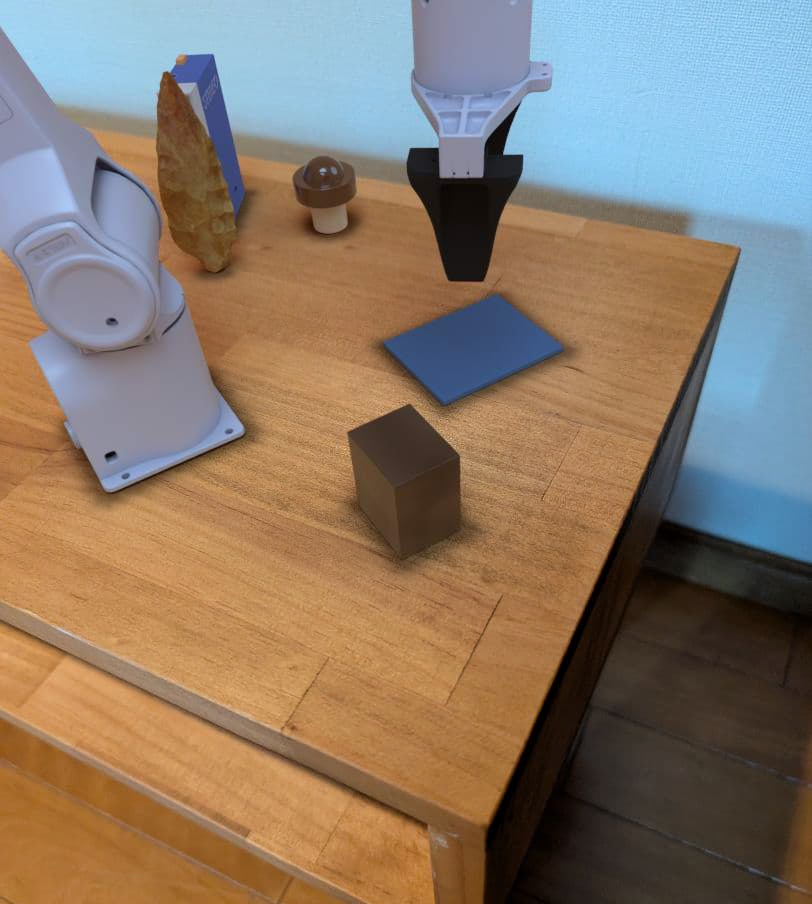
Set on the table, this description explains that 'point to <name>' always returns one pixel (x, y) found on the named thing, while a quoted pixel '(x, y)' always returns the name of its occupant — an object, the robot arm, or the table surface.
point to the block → (406, 480)
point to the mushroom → (326, 191)
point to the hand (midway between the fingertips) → (470, 242)
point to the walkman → (211, 115)
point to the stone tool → (192, 181)
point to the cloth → (471, 348)
